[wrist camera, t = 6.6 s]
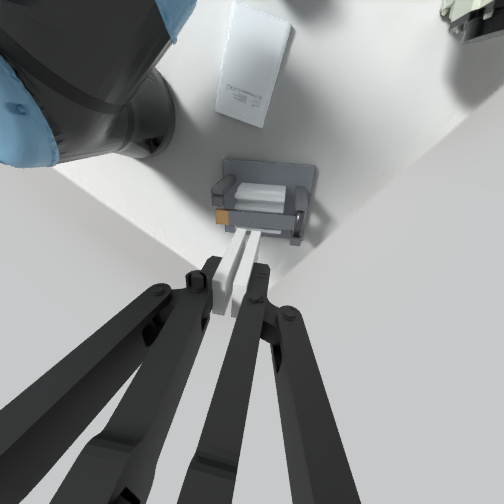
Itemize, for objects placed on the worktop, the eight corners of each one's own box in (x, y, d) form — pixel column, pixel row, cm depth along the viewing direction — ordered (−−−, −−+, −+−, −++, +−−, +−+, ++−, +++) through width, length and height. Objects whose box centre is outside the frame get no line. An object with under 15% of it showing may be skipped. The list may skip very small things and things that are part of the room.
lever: (218, 226, 36) (216, 230, 35) (217, 201, 34) (214, 204, 32) (300, 233, 35) (300, 237, 34) (304, 208, 33) (305, 211, 31)
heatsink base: (226, 228, 46) (211, 254, 37) (224, 159, 39) (205, 171, 30) (301, 236, 44) (304, 265, 36) (314, 165, 37) (322, 180, 28)
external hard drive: (292, 27, 29) (262, 128, 36) (234, 5, 29) (216, 111, 35) (292, 22, 27) (261, 128, 34) (231, -1, 27) (213, 110, 34)
